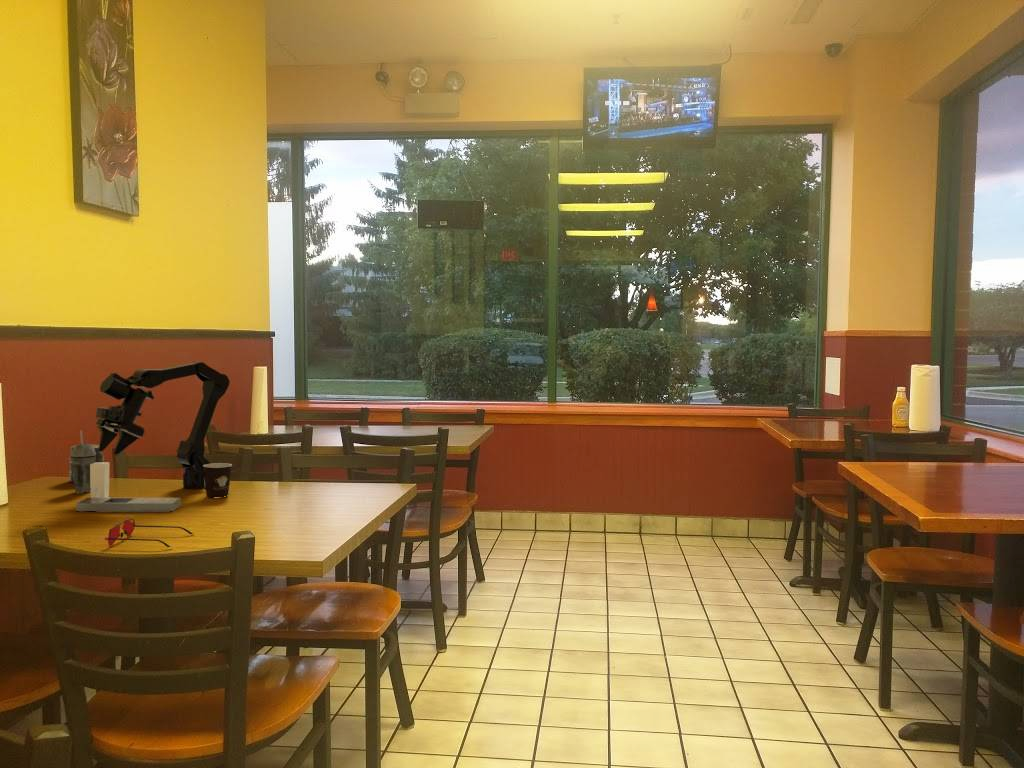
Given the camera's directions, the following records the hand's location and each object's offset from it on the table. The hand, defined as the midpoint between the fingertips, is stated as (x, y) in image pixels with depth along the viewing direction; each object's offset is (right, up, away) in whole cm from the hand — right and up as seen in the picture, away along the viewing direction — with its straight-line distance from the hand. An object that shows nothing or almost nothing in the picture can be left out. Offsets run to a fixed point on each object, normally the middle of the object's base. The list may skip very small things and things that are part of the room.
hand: (107, 452), depth 242 cm
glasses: (+34, -19, -45) cm, 59 cm away
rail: (+12, -16, -11) cm, 22 cm away
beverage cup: (-13, -14, +11) cm, 22 cm away
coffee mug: (+28, -15, +10) cm, 33 cm away
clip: (0, -15, -4) cm, 15 cm away
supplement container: (-22, -12, +29) cm, 38 cm away
